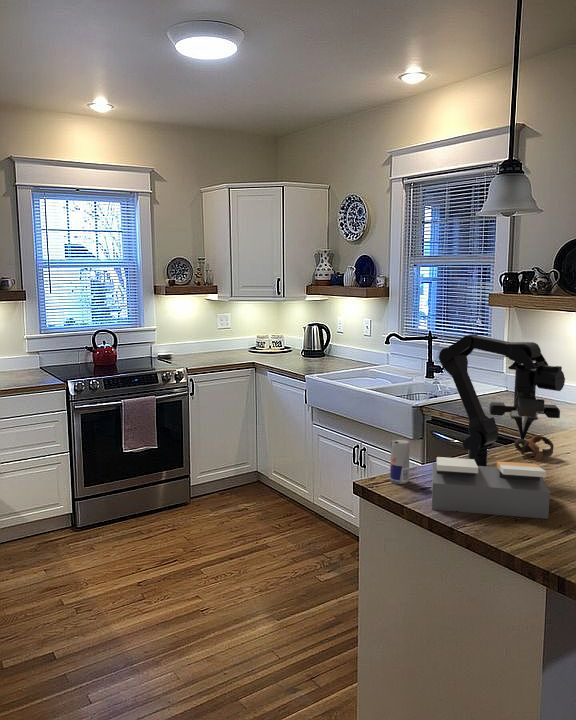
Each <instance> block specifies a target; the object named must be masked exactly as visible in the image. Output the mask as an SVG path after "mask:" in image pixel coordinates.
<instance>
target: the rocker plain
mask: <svg viewBox="0 0 576 720" xmlns="http://www.w3.org/2000/svg"><path fill="white" fill-rule="evenodd" d="M436 463H437V471H451V472H466V473H478V466H477V464H476V462H475V460H474V459H468V458H460V457H459V458H458V457H442V456H437V457H436Z"/></svg>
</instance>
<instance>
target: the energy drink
mask: <svg viewBox="0 0 576 720" xmlns="http://www.w3.org/2000/svg"><path fill="white" fill-rule="evenodd" d="M410 447H411V444H410V441H409V440H408V439H405V438H404V439H403V438H394V439H392V440H391V442H390V468H389V469H390V471H389V481H390V482H391V483H393V484H397V485H405V484H407V483H409V482H410V455H411V454H410V452H411V451H410V450H411V449H410Z"/></svg>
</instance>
